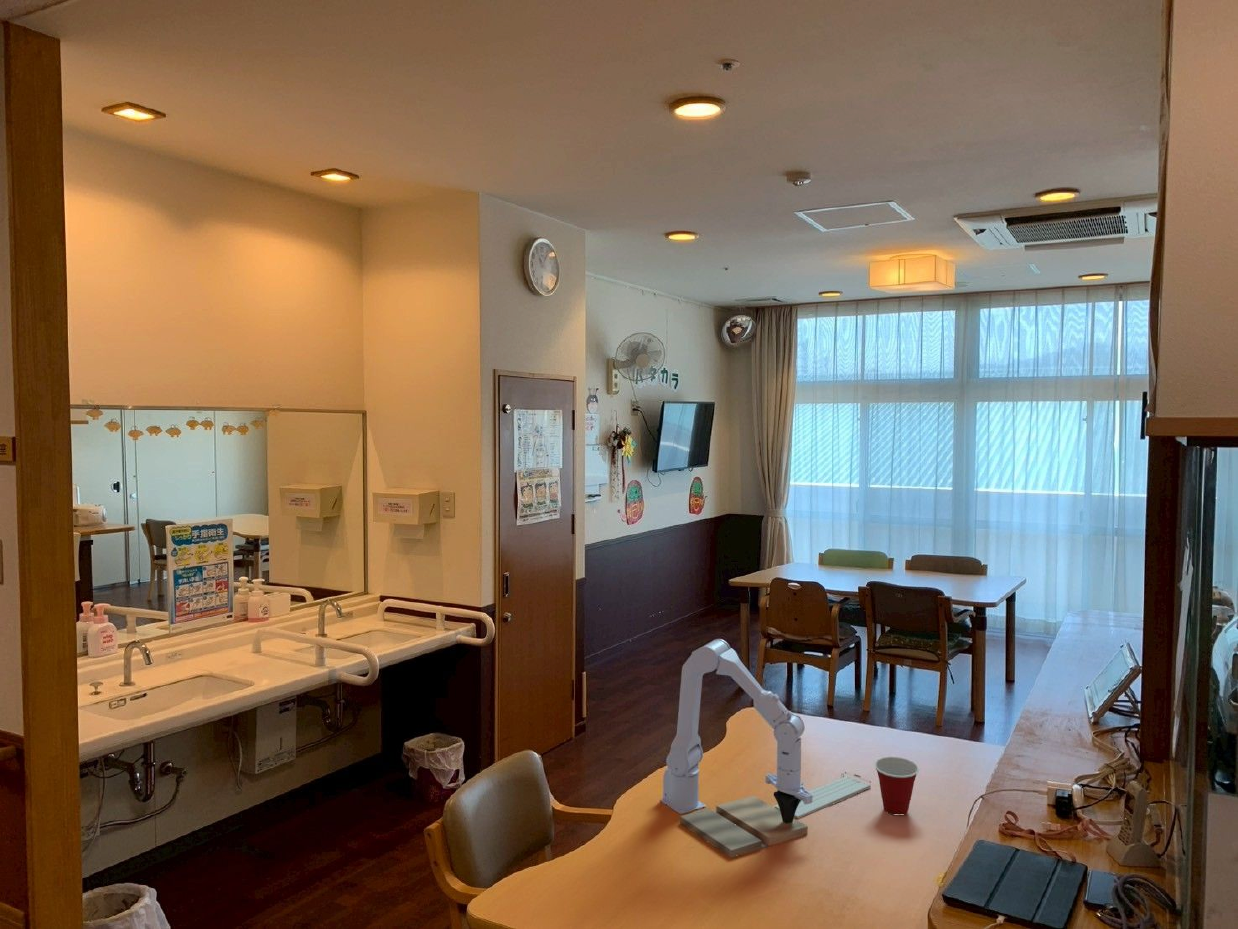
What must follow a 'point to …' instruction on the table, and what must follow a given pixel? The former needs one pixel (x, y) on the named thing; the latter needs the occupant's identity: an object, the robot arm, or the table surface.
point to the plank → (761, 820)
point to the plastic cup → (896, 783)
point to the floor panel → (721, 832)
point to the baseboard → (830, 795)
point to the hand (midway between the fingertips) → (787, 822)
